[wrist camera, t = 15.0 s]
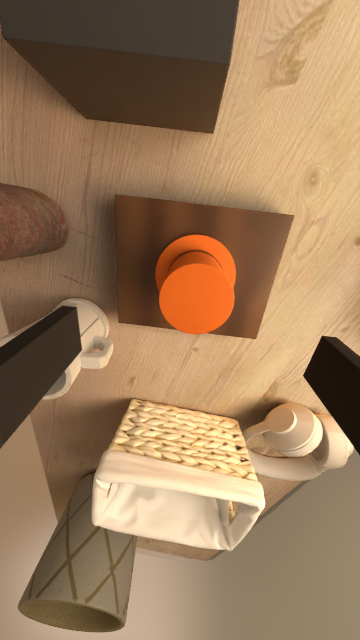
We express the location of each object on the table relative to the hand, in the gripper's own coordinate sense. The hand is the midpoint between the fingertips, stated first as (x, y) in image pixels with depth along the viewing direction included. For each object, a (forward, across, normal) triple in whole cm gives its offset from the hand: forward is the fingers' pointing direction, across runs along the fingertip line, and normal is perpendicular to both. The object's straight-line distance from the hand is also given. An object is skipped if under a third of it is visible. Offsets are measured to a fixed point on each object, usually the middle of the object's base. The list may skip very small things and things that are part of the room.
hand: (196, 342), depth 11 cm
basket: (+19, +1, -33) cm, 39 cm away
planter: (+19, -14, -59) cm, 64 cm away
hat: (+16, 0, 0) cm, 16 cm away
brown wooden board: (+19, 0, 0) cm, 19 cm away
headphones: (+19, +22, -30) cm, 42 cm away
